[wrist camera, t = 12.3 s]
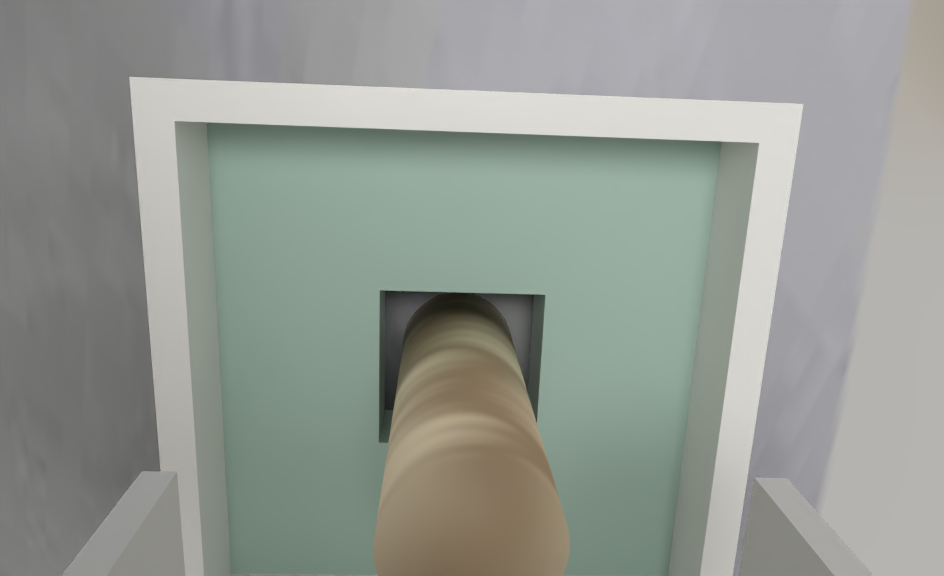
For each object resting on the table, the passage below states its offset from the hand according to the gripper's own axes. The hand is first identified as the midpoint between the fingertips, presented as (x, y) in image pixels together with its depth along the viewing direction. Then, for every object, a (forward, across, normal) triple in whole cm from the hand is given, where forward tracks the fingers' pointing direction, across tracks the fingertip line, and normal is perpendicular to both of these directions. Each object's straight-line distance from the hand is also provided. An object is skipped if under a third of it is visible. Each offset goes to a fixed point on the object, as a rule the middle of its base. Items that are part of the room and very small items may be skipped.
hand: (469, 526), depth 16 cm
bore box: (+14, 0, 0) cm, 14 cm away
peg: (+14, 0, -1) cm, 14 cm away
